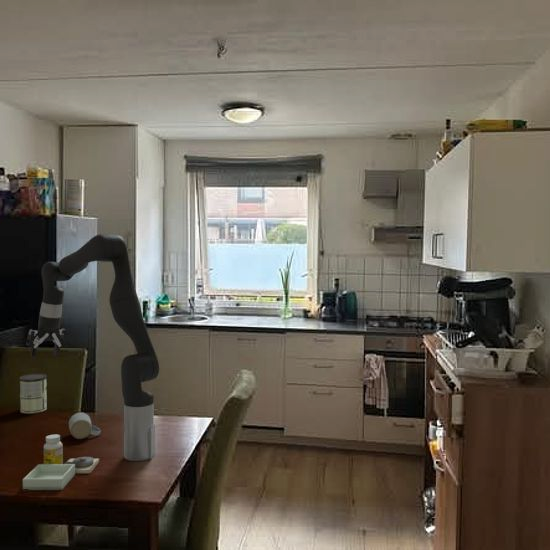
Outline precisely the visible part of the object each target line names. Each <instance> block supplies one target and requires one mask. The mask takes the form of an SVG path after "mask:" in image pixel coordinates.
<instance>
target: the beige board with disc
mask: <svg viewBox="0 0 550 550" xmlns="http://www.w3.org/2000/svg"><path fill="white" fill-rule="evenodd" d="M99 463H100V458H93V457H92V456H80V457H76V458H69V459H68V460H67V461H66V462H65V463H64V464H75V474H91V473H92V472H93V470H94V469H95V468H96V466H97V465H98V464H99Z"/></svg>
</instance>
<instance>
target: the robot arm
mask: <svg viewBox="0 0 550 550" xmlns="http://www.w3.org/2000/svg"><path fill="white" fill-rule="evenodd" d="M127 247H128V246H127V243H126V241H125V239H124V238H123V236H121V235H120V234H119V235H118V234H110V233H109V234H106V233H105V234H103V233H102V234H101V233H99V234H96V235H94V236H93V237H92V238H90V239H89V240H88V241H86V243H84V244H83V245H82V246H81V247H80V248H78V249H77V250H76V251H74V252H72V253H70V254H68V255H66V256H64V257H63V258H61V259H60V261H59V262H58V261H47V262H44V264H43V266H42V268H41V277H42V278H41V279H42V286H43V293H42V294H43V296H42V301H41V306H40V311H39V317H38V322H37V323H38V324H37V325H38V328H37V330H36V329H35V330H33V329H32V328H30V329H28V333H27V337H26V342H25V344H26V346H28V347H30V353H29V354H30V357H32V358H36V357H37V351H38V346H39V345H41V344H42V343H43V342H45V343H46V342H53V344H54V346H53V352H52V353H53V354H52V355H53V357H58V356H59V355H60V351H61V350H60V349H61V347H62V346H66V344H67V335H68V334H67V333H68V329H67V330H66V329H65V328H63V327H62V328H61V329H60V327H61V321H62V313H63V302H64V296H65V290H64V288H62V287H59V286H55V282H67V281H69V280H71V279H72V278H73V277H74V276H75V274H78V273H80V272H82V271H84V270H85V269H87V267H88V265H89V263H93V262H102V263H103V262H104V263H106V262H109V263H112V265H113V270H114V281H113V285H112V287H111V290H110V294H109V300H108V301H109V305H110V310H111V313H112V316H113V320H114V321H115V323H116V324H117V326H118V327H120V329H121V330H122V331H123V332H124V333H125V334H126V335H127V336H128V337H129V338H130V340H131V342H132V344H133V345H134V347H135V350H136V351H135V352H136V353H134V354H129V355H126V356H125V357H123V359H122V362H121V366H120V375H121V376H120V377H121V393H122V397H123V403H124V404H123V407H124V408H123V409H124V410H123V411H124V413H123V415H124V416H123V418H124V419H123V421H124V422H123V424H124V426H123V431H124V432H123V434H124V435H123V443H124V445H123V446H124V447H123V448H124V449H123V453H124V455H123V456H124V459H125V460H127V461H129V462H141V461H146V460H152V459H153V457H154V455H155V454H156V424H155V421H154V418H155V417H154V413H155V412H154V411H155V410H154V407H155V406H154V404H155V403H154V402H155V401H154V400H155V396H154V394H153V393H152V392H150V391H146V390H143V387H142V383H144V382H145V383H146V382H149V381H153V380H156V378H158V376H159V374H160V363H159V359H158V356H157V353H156V351H155V348H154V346H153V344H152V340H151V337H150V335H149V332H148V329H147V325H146V322H145V319H144V316H143V312H142V311H143V310H142V307H141V303H140V300H139V296H138V293H137V290H136V286H135V282H134V279H133V274H132V268H131V264H130V263H131V262H130V258H129V253H128V248H127ZM58 335H60V336H59V338H58V337H57V336H58Z"/></svg>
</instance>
